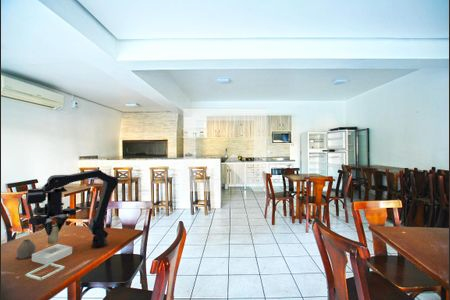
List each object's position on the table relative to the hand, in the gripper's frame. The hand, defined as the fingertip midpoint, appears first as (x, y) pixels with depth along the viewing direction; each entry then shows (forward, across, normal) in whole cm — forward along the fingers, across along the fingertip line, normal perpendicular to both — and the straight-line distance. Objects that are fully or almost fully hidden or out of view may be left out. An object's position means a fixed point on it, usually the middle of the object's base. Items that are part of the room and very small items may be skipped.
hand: (53, 233), depth 107 cm
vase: (+13, +4, -12) cm, 18 cm away
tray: (+12, +10, +10) cm, 19 cm away
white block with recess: (+12, 0, 0) cm, 13 cm away
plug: (+4, 0, 0) cm, 4 cm away
